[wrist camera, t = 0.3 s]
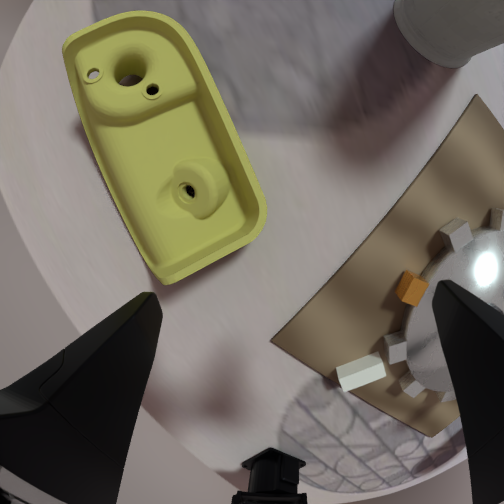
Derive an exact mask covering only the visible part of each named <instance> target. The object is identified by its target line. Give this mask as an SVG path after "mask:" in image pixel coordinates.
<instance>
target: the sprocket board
mask: <svg viewBox="0 0 504 504" xmlns="http://www.w3.org/2000/svg"><path fill="white" fill-rule="evenodd" d="M492 207H493V208H498V209H503V210H504V129H503V128H502V127H501V125H500V124H499V122H498V121H497V119H496V118H495V117H494V115H493V114H492V112H491V111H490V110H489V108H488V107H487V106H486V104H485V103H484V102H483V101H482V99H481V98H480V97H479V96H478V94H475V95H474V97H473V98H472V100H471V101H470V103H469V104H468V106H467V107H466V109H465V110H464V112H463V113H462V115H461V116H460V118H459V119H458V121H457V122H456V124H455V125H454V126H453V128H452V129H451V131H450V132H449V134H448V135H447V136H446V138H445V139H444V141H443V142H442V143H441V145H440V146H439V148H438V149H437V150H436V152H435V153H434V154H433V156H432V157H431V158H430V160H429V161H428V162H427V164H426V165H425V166H424V168H423V169H422V170H421V172H420V173H419V174H418V175H417V177H416V178H415V179H414V181H413V182H412V183H411V184H410V186H409V187H408V188H407V190H406V191H405V192H404V193H403V195H402V196H401V197H400V198H399V200H398V201H397V202H396V203H395V204H394V206H393V207H392V208H391V209H390V211H389V212H388V213H387V214H386V215H385V217H384V218H383V219H382V220H381V221H380V223H379V224H378V225H377V226H376V227H375V229H374V230H373V231H372V232H371V233H370V234H369V236H368V237H367V238H366V239H365V240H364V241H363V242H362V244H361V245H360V246H359V247H358V248H357V249H356V250H355V252H354V253H353V254H352V255H351V256H350V257H349V258H348V259H347V261H346V262H345V263H344V264H343V265H342V266H341V267H340V268H339V269H338V271H337V272H336V273H335V274H334V275H333V276H332V277H331V278H330V279H329V280H328V281H327V282H326V284H325V285H324V286H323V287H322V288H321V289H320V290H319V291H318V292H317V293H316V294H315V295H314V296H313V297H312V298H311V299H310V300H309V301H308V303H307V304H306V305H305V306H304V307H303V308H302V309H301V310H300V311H299V312H298V313H297V314H296V315H295V316H294V317H293V318H292V319H291V320H290V321H289V322H288V323H287V324H286V325H285V326H284V327H283V328H282V329H281V330H280V331H279V332H278V333H277V334H276V335H275V336H274V337H273V338H272V342H274V343H275V344H277V345H278V346H280V347H281V348H283V349H284V350H286V351H287V352H289V353H290V354H292V355H293V356H295V357H296V358H298V359H299V360H301V361H302V362H304V363H305V364H307V365H309V366H310V367H312V368H313V369H315V370H316V371H318V372H319V373H321V374H323V375H324V376H326V377H327V378H329V379H331V380H332V381H334V382H335V383H337V384H339V385H340V386H341V384H340V382H339V379H338V374H337V370H336V367H339V366H341V365H344V364H347V363H349V362H352V361H355V360H357V359H360V358H362V357H365V356H367V355H370V354H372V353H375V352H377V351H378V352H379V355H380V357H381V359H382V362H383V365H384V369H385V373H386V376H385V377H383V378H381V379H378V380H376V381H373V382H371V383H368V384H365V385H363V386H360V387H357V388H355V389H352V390H349V391H350V392H352V393H353V394H355V395H357V396H358V397H360V398H362V399H363V400H365V401H367V402H369V403H370V404H372V405H374V406H375V407H377V408H379V409H381V410H382V411H384V412H386V413H388V414H389V415H391V416H393V417H395V418H396V419H398V420H400V421H402V422H404V423H405V424H407V425H409V426H411V427H413V428H415V429H416V430H418V431H420V432H422V433H424V434H426V435H428V436H430V437H431V438H432V437H434V436H435V435H436V434H438V433H439V432H440V431H442V430H443V429H444V428H446V427H447V426H448V425H449V424H451V423H452V422H453V421H454V420H456V419H457V418H458V417H459V416H460V413H459V409H458V404H457V400H456V399H455V400H452V401H446V402H440V400H439V398H438V396H437V395H436V393H435V392H436V391H433V390H430V389H427V388H425V389H424V390H423V391H422V392H420V393H419V394H418V395H417V396H416V397H414V398H413V397H411V396H410V395H408V394H407V393H405V392H404V391H403V390H402V388H401V385H400V383H399V381H398V380H399V379H400V378H401V377H402V376H403V375H405V374H406V373H407V372H408V371H409V370H410V369H409V367H408V365H407V363H406V361H405V360H403V361H400V362H397V363H394V364H391V365H390V364H389V362H388V359H387V357H386V355H385V348H384V336H385V335H388V334H392V333H395V332H398V331H401V324H402V319H403V314H404V311H405V308H406V304H407V303H405V302H403V301H401V300H400V298H399V297H398V296H397V294H396V293H395V290H396V288H397V286H398V284H399V282H400V281H401V279H402V277H403V275H404V273H405V271H406V270H408V271H411V272H413V273H415V274H417V275H420V276H421V275H422V273H423V271H424V270H425V269H426V267H427V266H428V265H429V263H430V262H431V261H432V260H433V259H434V257H435V256H436V255H437V254H438V253H439V252H440V251H441V250H442V249H443V248H444V247H445V244H444V242H443V239H442V236H441V234H440V231H439V230H440V229H441V228H443V227H444V226H445V225H447V224H448V223H450V222H451V221H452V220H454V219H455V218H456V217H458V218H460V219H462V220H465V221H467V222H468V224H469V227H470V230H472V229H475V228H478V227H483V226H489V224H490V218H491V211H492Z"/></svg>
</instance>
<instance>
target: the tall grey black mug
mask: <svg viewBox="0 0 504 504" xmlns="http://www.w3.org/2000/svg"><path fill="white" fill-rule="evenodd" d="M393 11H394V17H395V20H396V23H397V25H398V27H399V30H400V31H401V33H402V34H403V36H404V38H405V39H406V40H407V41H408V42H409V44H410V45H411V46H412V47H413V48H414V49H415V50H416V51H417V52H419V53H420V54H421V55H422V56H423V57H425V58H427V59H428V60H430V61H431V62H433V63H435V64H437V65H440V66H443V67H448V68H458V67H462V66H464V65H465V64H467V63H468V62H469V61H470V59H471V57H472V56H474V55H476V54H479V53H481V52H483V51H486V50H488V49H490V48H493V47H495V46H498V45H500V44H503V43H504V0H395V2H394V9H393Z"/></svg>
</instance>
